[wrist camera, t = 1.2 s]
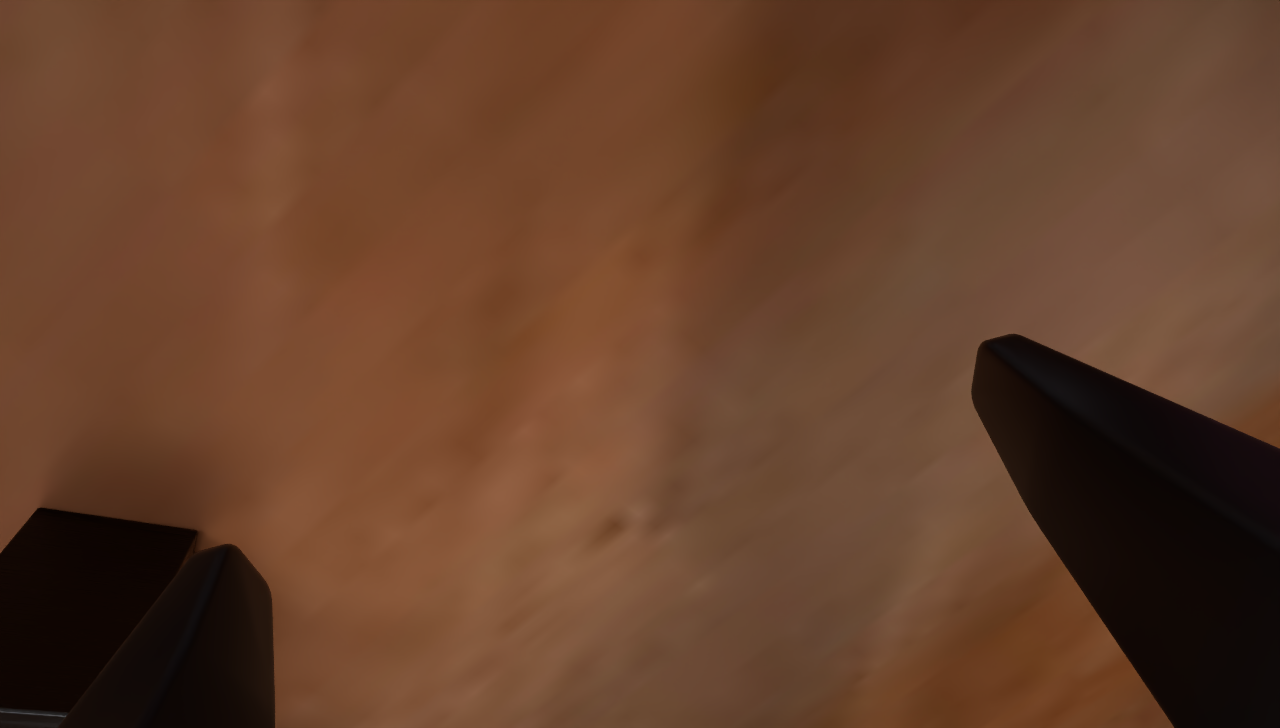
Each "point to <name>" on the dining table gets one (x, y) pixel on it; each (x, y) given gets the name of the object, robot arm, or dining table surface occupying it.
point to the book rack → (74, 604)
